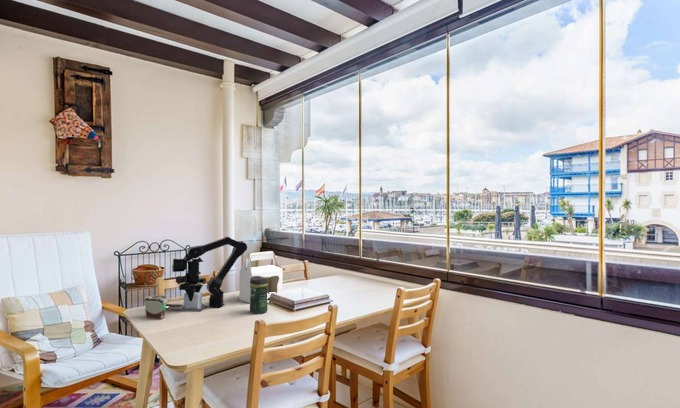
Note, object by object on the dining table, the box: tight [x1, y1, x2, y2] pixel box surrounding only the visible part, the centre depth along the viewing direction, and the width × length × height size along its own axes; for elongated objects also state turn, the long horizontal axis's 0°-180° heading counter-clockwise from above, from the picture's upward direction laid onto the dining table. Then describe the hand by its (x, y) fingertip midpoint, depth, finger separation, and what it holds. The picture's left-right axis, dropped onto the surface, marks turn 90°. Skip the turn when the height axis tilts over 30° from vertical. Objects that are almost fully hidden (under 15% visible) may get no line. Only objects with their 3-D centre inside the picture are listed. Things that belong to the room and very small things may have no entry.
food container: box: [143, 294, 169, 321], centre depth 180 cm, size 12×6×10 cm, turn 71°
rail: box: [165, 303, 208, 313], centre depth 195 cm, size 24×8×1 cm, turn 85°
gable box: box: [238, 250, 284, 304], centre depth 219 cm, size 22×13×28 cm, turn 136°
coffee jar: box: [249, 276, 268, 315], centre depth 191 cm, size 10×8×19 cm
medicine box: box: [183, 291, 203, 309], centre depth 194 cm, size 8×4×9 cm, turn 84°
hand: (192, 299), depth 194 cm, fingers closed on medicine box, 4 cm apart
